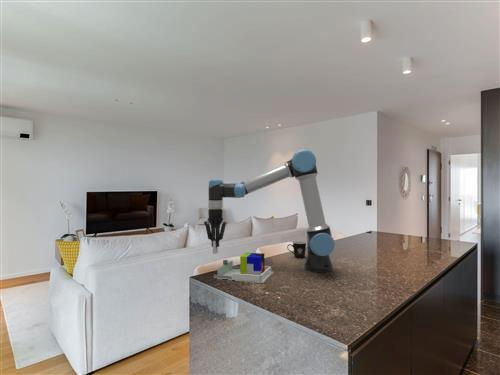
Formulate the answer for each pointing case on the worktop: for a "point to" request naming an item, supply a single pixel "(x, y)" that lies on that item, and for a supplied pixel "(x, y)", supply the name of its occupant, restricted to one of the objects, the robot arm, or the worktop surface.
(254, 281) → the housing
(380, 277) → the worktop surface
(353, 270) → the worktop surface
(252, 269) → the puzzle toy
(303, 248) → the coffee mug
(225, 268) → the gate
